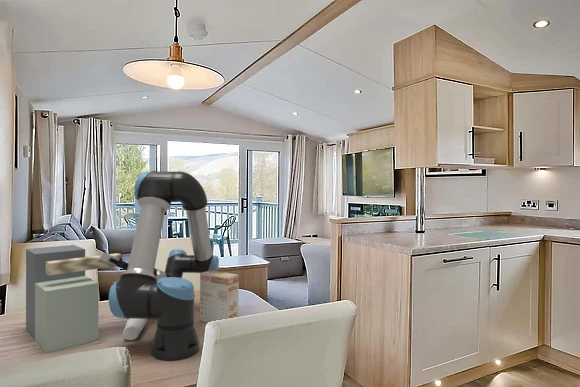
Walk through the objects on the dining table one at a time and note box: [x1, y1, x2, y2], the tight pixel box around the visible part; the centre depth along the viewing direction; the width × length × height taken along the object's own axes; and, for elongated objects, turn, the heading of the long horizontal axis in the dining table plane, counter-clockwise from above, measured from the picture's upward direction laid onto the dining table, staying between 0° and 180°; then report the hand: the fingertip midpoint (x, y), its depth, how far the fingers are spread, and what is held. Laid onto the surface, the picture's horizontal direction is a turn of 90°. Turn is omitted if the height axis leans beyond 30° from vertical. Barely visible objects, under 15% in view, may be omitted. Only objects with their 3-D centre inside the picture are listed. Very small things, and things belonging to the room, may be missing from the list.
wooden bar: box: [46, 252, 123, 275], centre depth 139 cm, size 24×4×4 cm, turn 135°
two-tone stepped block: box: [25, 244, 100, 354], centre depth 139 cm, size 16×28×30 cm, turn 45°
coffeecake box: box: [199, 270, 240, 324], centre depth 154 cm, size 15×7×20 cm, turn 57°
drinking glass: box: [122, 318, 148, 341], centre depth 142 cm, size 7×7×15 cm
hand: (98, 254), depth 142 cm, fingers closed on wooden bar, 4 cm apart
